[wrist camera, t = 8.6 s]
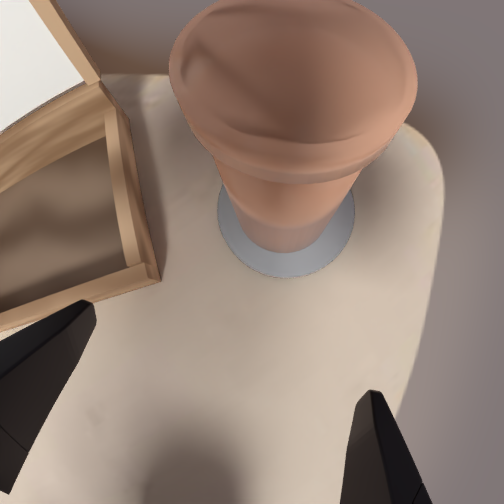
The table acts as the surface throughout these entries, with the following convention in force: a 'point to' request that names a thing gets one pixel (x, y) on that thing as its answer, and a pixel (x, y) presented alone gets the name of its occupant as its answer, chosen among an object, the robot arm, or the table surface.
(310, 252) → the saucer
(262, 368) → the table surface
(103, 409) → the table surface
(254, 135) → the tan cylindrical canister
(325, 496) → the table surface
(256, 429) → the table surface
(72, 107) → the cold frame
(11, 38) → the lid
